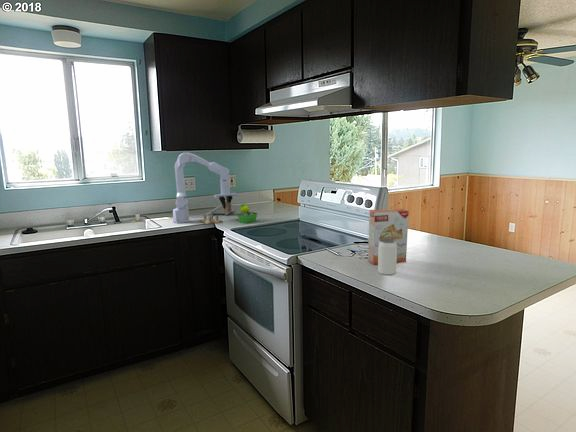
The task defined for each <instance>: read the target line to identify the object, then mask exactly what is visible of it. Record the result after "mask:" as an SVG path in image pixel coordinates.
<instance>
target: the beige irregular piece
mask: <svg viewBox="0 0 576 432" xmlns="http://www.w3.org/2000/svg"><path fill="white" fill-rule="evenodd" d="M199 222H201V223H203V222H204V224H206V225H210V224H218V223H223V220H222V219H219V216H218V215H215V217H214V213H212V214H210V216H208V218H207V215H206V214H203V219H202V218H201V219H200V220H199Z"/></svg>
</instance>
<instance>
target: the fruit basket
mask: <svg viewBox="0 0 576 432" xmlns="http://www.w3.org/2000/svg"><path fill="white" fill-rule="evenodd" d="M240 212H241V213H239V214H237V218H238V221H239V223H240V224H248V223H253V222H256V221H257V216H258V212H253V211H250V208H249V207H248V205H247V204H245V203H242V204H240Z"/></svg>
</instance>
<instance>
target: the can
mask: <svg viewBox="0 0 576 432" xmlns="http://www.w3.org/2000/svg"><path fill="white" fill-rule="evenodd" d="M377 269H378V270H377V272H378V273H379V274H380V275H384V276H393V275H395V274H396V273H397V244H396V240H393V239H381V240H380V243H379V247H378V264H377Z"/></svg>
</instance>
